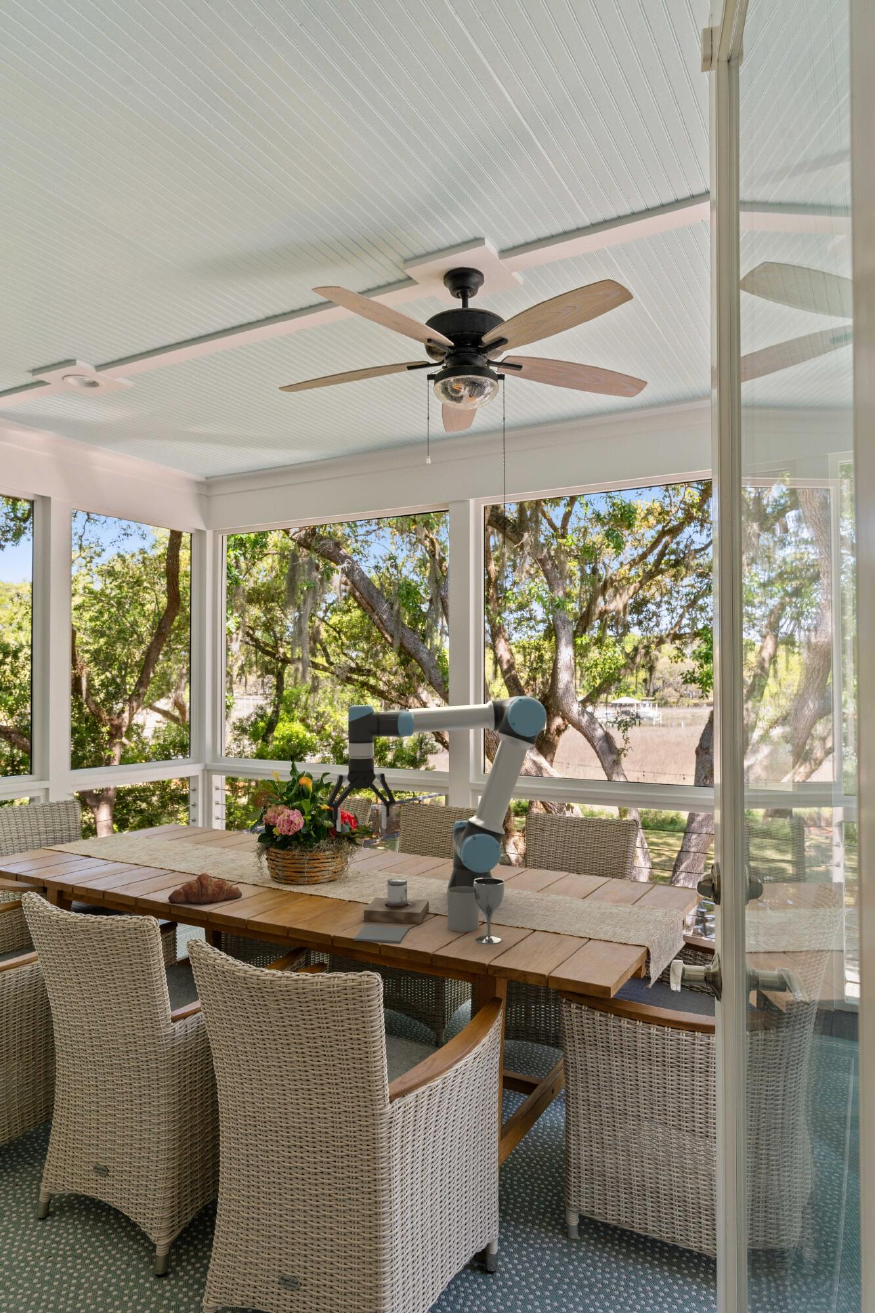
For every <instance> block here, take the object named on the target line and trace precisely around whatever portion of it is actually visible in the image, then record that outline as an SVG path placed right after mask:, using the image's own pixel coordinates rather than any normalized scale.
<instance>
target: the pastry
mask: <svg viewBox="0 0 875 1313" xmlns="http://www.w3.org/2000/svg"><path fill="white" fill-rule="evenodd" d="M241 897H243V892H242V890H240V888H239V887H238V886H237V887H236V886H233V885H232V884H230V883H229V882H228V881H226V880H225V879H218V880H214V879H213V878H212V877H211V876H210V875H209V874H208V873H205V872H202V873H200V874H199V875H198V876H197V878H196V880H195V881H187V882H186V883H184V884H183V885H182V886H180V887H179V888H176V889H174V890H173V891H172V892H171V893H170V895H169V896H168V898H167V900H168V902H169V903H176V904H190V905H191V904H192V905H208V904H215V903H216V904H217V903H220V902H221V903H222V902H224V901H233V900H237V899H239V898H241Z"/></svg>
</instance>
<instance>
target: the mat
mask: <svg viewBox="0 0 875 1313" xmlns="http://www.w3.org/2000/svg"><path fill="white" fill-rule="evenodd" d="M409 931H410V927H408V926H407V927H406V926H389V925H388V926H387V925H370V924H367V925H366V924H365V925H364V926H363V927H362V928H361V930H360V931H359V932H358V933H357V934H356V935H355V936H354V938H353V941H355V942H357V941H358V942H370V943H373V942H374V943H389V944H390V943H391V944H401V942H402V941H403V939H404V938H405V937H406V935H407V933H408V932H409Z"/></svg>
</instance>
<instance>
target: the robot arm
mask: <svg viewBox="0 0 875 1313" xmlns="http://www.w3.org/2000/svg"><path fill="white" fill-rule="evenodd" d="M347 718H348V719H347V727H348V728H347V730H348V731H347V733H348V735H347V736H348V738H347V739H348V757H349V758H348V773H347V775H345V774H341V773H339V774H338V775H337V778H336V779H337V780H336V783H335V785H334V788H333V790H332V791H331V794H330V796H329V797H328V800H327V802H326V806H327V807H328V808H332V818H333V820H335V821H336V831H337V832H338V833H339V832H340V833H341V832H342V828H341V826H342V818H341V816H342V814H341V813H342V810H341V808H340V806H341V805H342V803H343V802H344V801H345V799H347V797H348V796H349V795H350V793H351V792H353V790H354V789H356V790H362V789H363V790H368V789H369V788H370V790H371V791H372V792H373V793H374V794H375V795H376V796H377V798H378V800H380V802H382V803H383V805H381V828H382V829H383V830H387V818H389V817H390V815H391V814H390V813H391V812H390V806H391V805H393V804H396V799H395V797H394V795H393V793H392V791H391V789H390V787H389V785H388V783H387V781H386V776H385V773H383V772H378V773H375V759H374V756H375V755H374V754H375V745H374V744H375V740H374V739H375V738H379V737H380V738H381V737H382V738H383V737H384V738H385V737H386V738H388V737H389V738H390V737H391V738H392V737H393V738H395V737H396V738H400V737H401V738H404V737H412V736H413V735H414V733H415V734H416V733H417V734H418V733H430V732H431V733H432V732H446V731H462V730H475V729H477V730H479V729H488V730H490V731H491V732H492V731H493V732H496V731H498V732H497V735H498V737H499V740H500V742H499V744H498V747H497V750H496V753H495V755H494V758H493V762H492V765H491V768H490V770H489V773H488V777H487V780H486V782H485V785H484V788H483V792H482V794H481V798H480V800H479V803H478V806H477V809H476V812H475V815H473V816H472V817H470V818H468V819H467V820H457V821H454V823H453V827H452V833H453V835H452V837H453V838H452V841H453V842H452V846H453V847H452V849H453V850H452V872H451V874H450V878H449V881H448V883H447V886H446V887H447V888H446V889H447V891H446V892H447V893H446V894H447V895H448V889H449V888H452V887H459V886H467V887H474V880H475V879H478V878H486V877H490V878H493V874H492V872H491V870H493V869H494V868H495V867H497V865H498V864H499V862H500V861H501V858H502V857H501V856H502V847H501V846H502V843H503V840H504V837H505V834H506V832H505V829H504V827H503V823H504V820H505V818H506V815H507V812H508V809H509V806H510V803H511V800H512V797H513V794H514V790H515V788H516V785H517V782H518V778H519V777H520V773H521V770H522V768H523V763H524V761H525V758H526V755H527V754H528V750H530V749H531V748H533V747H535V744H536V741H537V738H538V736H539V734H540V733H541V732H542V730H544V727H545V726H546V723H547V711H546V709H545V707H544V706H543V704H542V703H541V702H540V701H539V700H538V699H536V698H534V697H532V696H528V695H516V696H512V697H507V698H502V699H496V700H488V701H487V703H485V704H482V703H481V704H471V705H469V704H467V705H455V706H453V705H452V706H440V707H439V706H438V707H425V708H423V707H422V708H420V707H419V708H410V709H409V708H407V709H389V710H385V711H375V709H374V706H373V705H369V704H366V705H365V704H357V705H356V704H355V705H350V706H349V708H348V716H347ZM376 779H377V781H379V782H380V784H381V787H382V788H383V790H384V793H385V794H386V796H387V798H388V799H387V798H386V797H385V796H384V794H382V792H380V790H379V789H378V788H377V787H376V786H375V784H374V781H375V780H376ZM346 780H347V781H348V782H349V783H348V785H347V787H346V788H345V789H344V790H343V792H342V793H341V794H340V795H339V797H338V798H337V796H338V794H339V792H340V790H341V787H342V785H343V783H345V782H346ZM336 798H337V799H336Z"/></svg>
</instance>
